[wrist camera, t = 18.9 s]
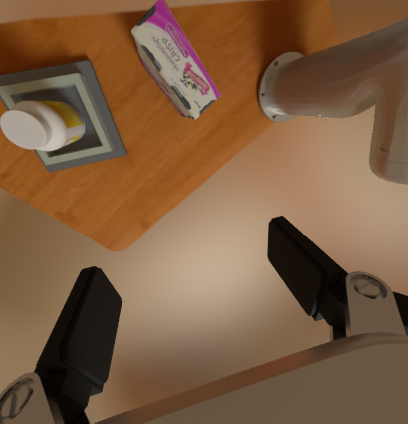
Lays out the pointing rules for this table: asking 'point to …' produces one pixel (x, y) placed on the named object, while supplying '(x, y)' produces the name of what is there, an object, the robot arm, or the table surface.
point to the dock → (75, 96)
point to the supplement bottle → (42, 125)
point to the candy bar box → (173, 61)
